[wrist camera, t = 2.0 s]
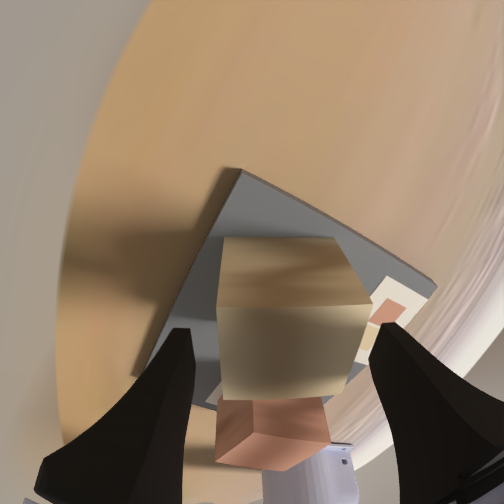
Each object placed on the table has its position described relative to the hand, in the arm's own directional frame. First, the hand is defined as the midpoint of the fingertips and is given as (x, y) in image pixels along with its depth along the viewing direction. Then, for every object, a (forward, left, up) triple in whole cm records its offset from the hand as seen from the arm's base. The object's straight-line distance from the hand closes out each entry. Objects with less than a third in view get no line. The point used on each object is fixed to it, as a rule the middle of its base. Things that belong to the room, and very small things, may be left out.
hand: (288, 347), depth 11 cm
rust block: (-4, +8, -4) cm, 10 cm away
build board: (-3, +4, -5) cm, 7 cm away
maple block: (0, 0, -4) cm, 4 cm away
